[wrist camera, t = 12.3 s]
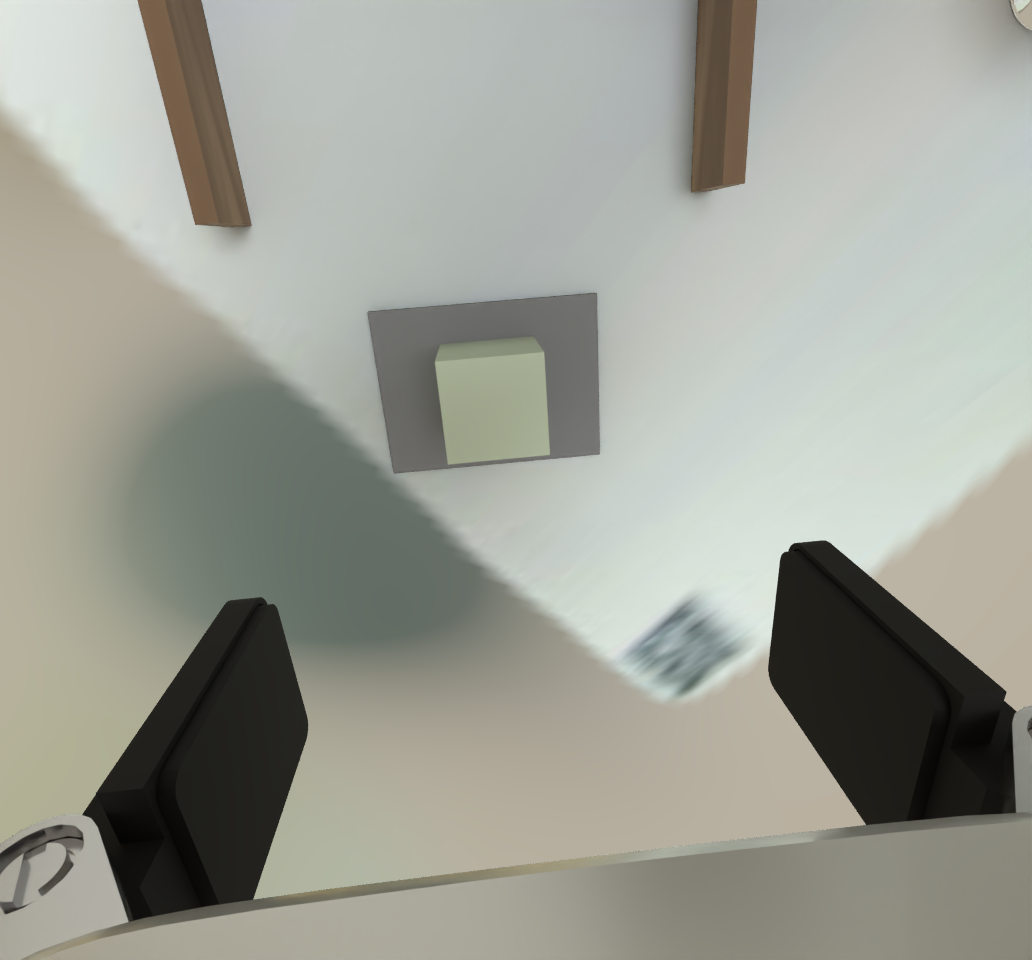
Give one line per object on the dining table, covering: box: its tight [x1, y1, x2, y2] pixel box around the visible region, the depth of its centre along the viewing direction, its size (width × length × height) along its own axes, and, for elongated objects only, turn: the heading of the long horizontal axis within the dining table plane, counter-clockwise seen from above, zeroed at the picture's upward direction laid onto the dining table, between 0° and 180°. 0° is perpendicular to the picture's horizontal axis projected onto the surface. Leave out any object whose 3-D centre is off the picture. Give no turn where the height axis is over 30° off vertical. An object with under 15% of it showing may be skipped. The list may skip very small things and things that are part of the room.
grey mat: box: [368, 293, 600, 473], centre depth 32 cm, size 12×9×1 cm
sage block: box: [435, 336, 550, 465], centre depth 30 cm, size 5×5×5 cm
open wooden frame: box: [138, 0, 757, 227], centre depth 25 cm, size 24×12×4 cm, turn 94°
